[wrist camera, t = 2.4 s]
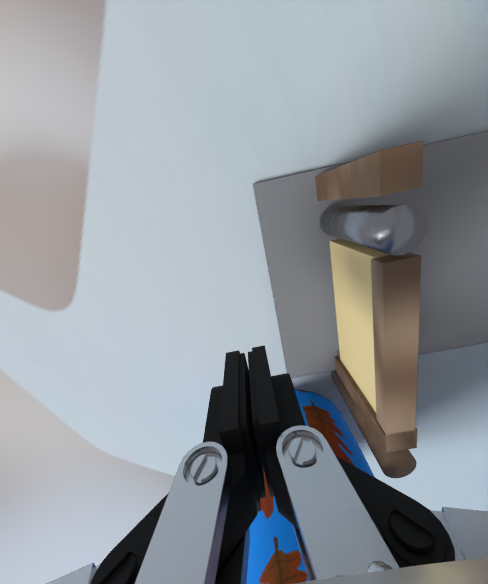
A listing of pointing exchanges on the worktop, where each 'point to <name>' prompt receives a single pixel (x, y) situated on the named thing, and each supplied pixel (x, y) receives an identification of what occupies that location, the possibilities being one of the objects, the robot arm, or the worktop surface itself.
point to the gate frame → (433, 249)
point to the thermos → (276, 528)
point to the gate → (378, 313)
